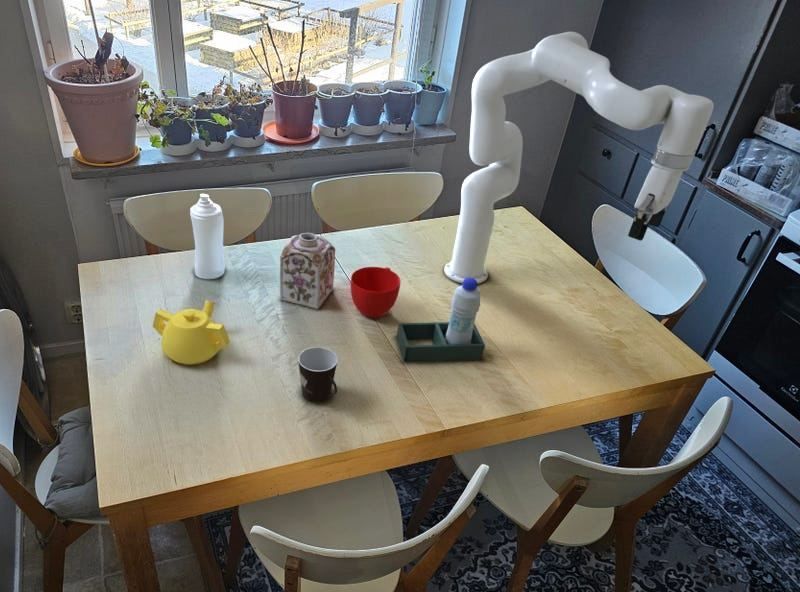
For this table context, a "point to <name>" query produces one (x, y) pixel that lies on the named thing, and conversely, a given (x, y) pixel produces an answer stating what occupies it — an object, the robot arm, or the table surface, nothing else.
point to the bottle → (463, 312)
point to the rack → (436, 343)
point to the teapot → (190, 334)
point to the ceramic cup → (374, 290)
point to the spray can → (208, 238)
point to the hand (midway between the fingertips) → (643, 231)
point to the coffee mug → (317, 373)
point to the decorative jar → (307, 270)
